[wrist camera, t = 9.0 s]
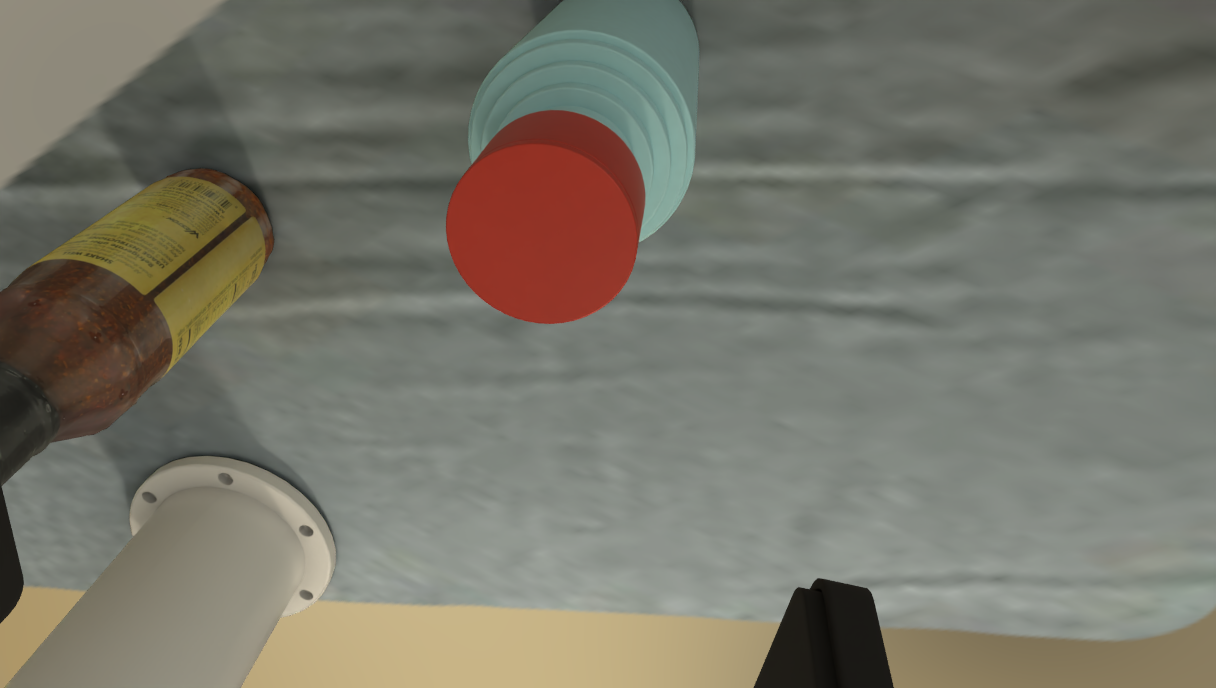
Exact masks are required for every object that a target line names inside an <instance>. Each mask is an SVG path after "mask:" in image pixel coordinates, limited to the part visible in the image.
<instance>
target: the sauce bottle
mask: <svg viewBox="0 0 1216 688" xmlns="http://www.w3.org/2000/svg"><path fill="white" fill-rule="evenodd" d="M273 245H274V237H273V232H272V226H271V224H270V221H269V219H268V216H267V213H266V211H265V210H264V208H263V205H262V203H261V202H260V200H259V198H258V197H257V196H256V195H255V194H253V192H252V191H251V190H250V189H248V188H247V186H245V185H243V184H241V182H239V181H237V180H235V179H233V178H231V177H230V176H229V175H226V174H224V173H222V172H218V171H216V170H212V169H203V168H198V169H189V170H184V171H180V172H177V173H175V174H172V175H169V176H167V177H166V178H165V179H162V180H160V181H157V182H155V183H153V184H151V185H150V186H148V187H147V188H145V189H144V190H142V191H141V192H140V193H138V194H137V195H135V196H134V197H132V198H131V199H129V200H128V201H126V202H125V203H123V204H122V205H120V206H119V207H117V208H116V209H114V210H113V211H111V212H110V213H109V214H107V215H106V216H104V217H103V218H101V219H100V220H98V221H97V222H95V223H94V224H92V225H91V226H89V227H88V228H86V229H85V230H83V231H82V232H80V233H79V234H77V235H76V236H74V237H73V238H71V239H70V240H69V241H67V242H66V243H64V244H63V245H61V246H60V247H58V248H57V249H55V250H54V251H52V252H51V253H49V254H48V255H46V256H45V257H43V258H42V259H40V260H39V261H37V262H36V263H34V264H33V265H31V266H30V267H29V268H27V269H26V270H25V271H23V272H22V273H21V274H20V275H19V276H18V277H17V278H16V279H15V280H14V281H13V282H12V283H11V284H10V285H9V286H8V288H6V289H4V290H3V291H1V292H0V482H1V486H2V485H3V484H4V483H5V482H6V481H7V480H8V479H9V478H10V477H11V476H13V475H14V474H15V473H16V472H17V471H18V470H19V469H20V468H21V467H22V466H23V465H24V464H25V463H26V462H27V461H29V460H30V458H31V457H32V456H35V455H37V454H38V453H40V452H42V451H43V450H44V449H45V448H46V447H47V446H48V445H49V444H50V443H51V442H56V441H62V440H67V439H72V438H77V437H82V436H86V435H94V434H96V433H98V432H100V431H102V430H104V429H106V428H108V427H109V426H110V425H111V424H112V423H113V422H115V421H116V420H117V419H118V418H119V417H120V416H121V415H122V414H123V413H124V412H126V411H127V410H128V409H129V408H130V407H131V406H132V405H134V404H136V403H137V400H138V398H139V397H140V396H141V395H142V394H143V393H144V392H145V391H146V390H147V389H148V388H149V387H150V386H152V385H153V384H155V383H156V382H158V381H159V380H160V379H161V378H162V377H163V376H164V375H165V374H166V373H167V372H168V371H169V370H170V369H171V368H172V367H173V366H174V365H175V364H176V363H177V362H178V360H179V359H180V358H181V357H182V356H183V355H184V354H185V353H186V352H187V351H188V350H189V349H190V348H191V347H192V346H193V345H194V344H195V342H196V341H197V340H198V339H199V338H200V337H201V336H202V335H203V334H204V333H205V332H206V331H207V330H208V329H209V328H210V327H211V326H212V325H213V323H214V322H215V321H216V320H217V319H218V318H219V317H220V316H221V315H222V314H223V313H224V312H225V311H226V310H227V309H228V308H229V307H230V306H231V305H232V304H233V303H234V302H235V301H236V300H237V299H238V298H239V297H240V296H241V295H242V294H243V293H244V292H245V291H246V290H247V289H248V288H249V287H250V286H251V285H252V284H253V283H254V282H255V281H256V280H257V278H258V276H259V275H260V273H261V271H262V268H263V265H264V264H265V263H266V261H267V259H268V257H269V255H270V253H271V252H272V250H273Z"/></svg>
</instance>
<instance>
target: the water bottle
mask: <svg viewBox="0 0 1216 688" xmlns="http://www.w3.org/2000/svg"><path fill="white" fill-rule="evenodd" d="M698 75H699V42H698V38H697V33H696V30H695V27H694V24H693V21H692V19H691V17H690V16H689V14H688V12H687V10H686V9H685V7H684V6H683V4H682V3H681V2H680V1H679V0H563V1H562V2H561V3H560V4H559V5H558V6H557V7H556V8H554V9H553V10H552V11H551V12H550V13H549V14H548V15H547V16H546V17H545V18H544V19H543V20H542V21H541V22H540V23H539V24H538V25H536V26H535V27H534V28H533V29H532V30H531V31H530V32H529V33H528V34H527V35H526V36H525V37H524V38H523V39H522V40H521V41H520V42H518V43H517V44H516V45H515V46H514V47H513V48H512V49H511V50H510V51H509V52H508V53H507V54H506V55H505V56H504V57H503V58H501V59H500V60H499V62H498V63H497V64H496V65H495V66H494V67H493V68H492V70H491V71H490V72H489V73H488V75H487V76H486V78H485V80H484V81H483V83H482V84H481V86H480V88H479V91H478V93H477V95H476V97H475V100H474V103H473V106H472V110H471V114H470V120H469V126H468V146H469V156H470V160H471V164H473V162H474V161H475V160H476V159H477V157H478V156H479V155H480V154H481V152H482V151H483V150H484V148H485V147H486V146H487V145H488V143H489V142H490V141H491V140H492V138H493V137H494V136H495V135H496V134H497V133H498V132H499V131H500V130H501V129H503V128H504V127H505V126H506V125H508V124H509V123H511V122H513V121H514V120H516V119H518V118H520V117H522V116H525V115H527V114H531V113H535V112H539V111H547V110H564V111H570V112H576V113H579V114H582V115H586V116H588V117H590V118H593V119H595V120H597V121H599V122H600V123H602V124H604V125H605V126H607V127H608V128H609V129H611V130H612V131H613V132H615V133H616V134H617V135H618V136H619V137H620V138H621V139H622V140H623V141H624V142H625V144H626V145H627V146H628V148H629V149H630V150H631V152H632V153H633V155H634V157H635V159H636V161H637V162H638V165H639V167H640V170H641V173H642V176H643V180H644V186H645V209H644V216H643V221H642V227H641V232H640V238H639V242H640V241H642V240H644V239H645V238H647V237H648V236H650V235H651V234H653V233H654V232H655V231H657V230H658V229H659V228H660V227H661V226H662V225H663V224H664V223H665V222H666V221H667V220H668V219H669V218H670V217H671V215H672V214H673V213H674V212H675V210H676V209H677V207H678V206H679V204H680V202H681V201H682V199H683V197H684V195H685V193H686V191H687V188H688V186H689V183H690V179H691V176H692V173H693V167H694V161H695V144H696V121H697V98H698Z"/></svg>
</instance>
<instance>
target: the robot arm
mask: <svg viewBox="0 0 1216 688" xmlns="http://www.w3.org/2000/svg"><path fill="white" fill-rule="evenodd" d="M129 519H130V526H131V533H132V535H133V538H132V539H131V540H130V541H129V543H128V544H127V545H126V546H125V547H124V548H123V550H122V551H121V552H120V553H119V554H118V555H117V557H116V558H115V559H114V560H113V561H112V562H111V564H110V565H109V566H108V567H107V568H106V569H105V571H104V572H103V573H102V574H101V575H100V576H99V578H98V579H97V580H96V581H95V582H94V583H93V585H92V586H91V587H90V588H89V589H88V590H87V592H86V593H85V594H84V595H83V596H82V597H81V599H80V600H79V601H78V602H77V603H76V604H75V606H74V607H73V608H72V609H71V610H70V611H69V613H68V614H67V615H66V616H65V617H64V618H63V620H62V621H61V622H60V623H59V624H58V625H57V627H56V628H55V629H54V630H53V631H52V632H51V634H50V635H49V636H48V637H47V639H45V641H44V642H43V643H42V644H41V645H40V646H39V648H38V649H37V650H36V651H35V652H34V653H33V655H32V656H31V657H30V658H29V659H28V661H27V662H26V663H25V664H24V665H23V666H22V667H21V669H20V670H19V671H18V672H17V673H16V674H15V676H14V677H13V678H12V679H11V680H10V681H9V683H8V684H7V685H6V686H5V687H4V688H241V686H242V684H243V682H244V681H245V679H246V677H247V675H248V674H249V672H250V670H251V668H252V667H253V665H254V663H255V661H256V660H257V658H258V656H259V654H260V653H261V651H262V649H263V647H264V645H265V644H266V642H267V640H268V638H269V636H270V635H271V633H272V631H273V630H274V628H275V626H276V624H277V622H278V621H279V619H280V618H281V617H286V616H291V615H293V614H296V613H298V612H301V611H303V610H305V609H306V608H308V607H309V606H311V605H312V604H314V603H315V602H316V601H317V600H318V599H319V597H320V596H321V595H322V594H323V593H324V591H325V589H326V587H327V586H328V584H329V582H330V580H331V578H332V575H333V572H334V569H335V565H336V550H335V545H334V541H333V537H332V534H331V532H330V530H329V528H328V526H327V524H326V522H325V520H324V519H323V517H322V516H321V515H320V513H319V512H318V510H317V509H316V507H315V506H314V505H313V504H312V503H311V502H310V501H309V500H308V499H307V498H306V497H305V496H304V495H303V494H302V493H301V492H299V491H298V490H297V489H295V488H294V487H293V486H291V485H290V484H289V483H288V482H286V481H285V480H283V479H281V478H279V477H278V476H276V475H274V474H272V473H271V472H269V471H267V470H264V469H262V468H259V467H257V466H254V465H252V464H249V463H246V462H242V461H238V460H234V459H230V458H224V457H214V456H197V457H187V458H183V459H179V460H176V461H172V462H170V463H168V464H166V465H164V466H162V467H160V468H159V469H157V470H156V471H155V472H154V473H153V474H152V475H151V476H150V477H148V478H147V480H146V481H145V482H144V483H143V484H142V485H141V486H140V488H139V489H138V490H137V492H136V494H135V496H134V498H133V501H132V503H131V508H130V516H129ZM23 585H24V581H23V574H22V570H21V566H20V562H19V558H18V553H17V549H16V545H15V541H14V537H13V533H12V528H11V524H10V520H9V516H8V512H7V507H6V503H5V499H4V495H3V491H2V487H1V482H0V623H1V622H2V621H3V620H4V619H5V618H6V617H7V616H8V615H9V614H10V612H11V611H12V610H13V609H14V607H15V606H16V604H17V602H18V601H19V599H20V596H21V593H22V590H23ZM754 688H894V687H893V683H892V678H891V674H890V669H889V665H888V660H887V656H886V652H885V647H884V643H883V638H882V634H881V630H880V625H879V621H878V617H877V612H876V608H875V603H874V599H873V597H872V594H871V592H870V591H869V590H868V588H863V587H859V586H854V585H849V584H844V583H840V582H835V581H830V580H826V579H820V578H818V579H816V580H815V581H814V583H813V584H812V586H811V588H810V589H805V588H800V587H798V588H797V589H796V590H795V592H794V593H793V595H792V598H791V600H790V603H789V605H788V607H787V610H786V612H785V614H784V617H783V619H782V622H781V624H780V626H779V629H778V631H777V634H776V636H775V638H774V641H773V643H772V645H771V648H770V650H769V652H768V655H767V657H766V659H765V662H764V664H763V667H762V669H761V672H760V674H759V676H758V678H757V681H756V683H755V686H754Z"/></svg>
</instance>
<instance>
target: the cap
mask: <svg viewBox="0 0 1216 688" xmlns="http://www.w3.org/2000/svg"><path fill="white" fill-rule="evenodd" d="M644 209H645V186H644V180H643V176H642V173H641V170H640V167H639V165H638V162H637V161H636V159H635V157H634V155H633V153H632V152H631V150H630V149H629V148H628V146H627V145H626V144H625V142H624V141H623V140H622V139H621V138H620V137H619V136H618V135H617V134H616V133H615V132H613V131H612V130H611V129H609V128H608V127H607V126H605V125H604V124H602V123H600V122H599V121H597V120H595V119H593V118H590V117H588V116H586V115H582V114H579V113H576V112H570V111H564V110H547V111H539V112H535V113H531V114H527V115H525V116H522V117H520V118H518V119H516V120H514V121H513V122H511V123H509V124H508V125H506V126H505V127H504V128H503V129H501V130H500V131H499V132H498V133H497V134H496V135H495V136H494V137H493V138H492V140H491V141H490V142H489V143H488V145H487V146H486V147H485V148H484V150H483V151H482V152H481V154H480V155H479V156H478V157H477V159H476V160H475V161H474V162H473V164H472V165H471V166H470V168H469V169H468V170H467V171H466V173H465V174H464V175H463V177H462V178H461V180H460V181H459V182H458V184H457V186H456V188H455V190H454V192H453V194H452V196H451V199H450V202H449V205H448V211H447V217H446V233H447V242H448V246H449V250H450V253H451V256H452V259H453V261H454V264H455V266H456V267H457V269H458V271H459V273H460V275H461V276H462V278H463V279H464V280H465V282H466V283H467V284H468V286H469V287H470V288H471V289H472V290H473V291H474V292H475V293H476V294H477V295H478V296H479V297H480V298H481V299H483V300H484V301H485V302H486V303H488V304H489V305H491V306H492V307H494V308H495V309H497V310H499V311H501V312H503V313H504V314H507V315H509V316H512V317H514V318H517V319H521V320H524V321H528V322H534V323H545V324H554V323H565V322H570V321H574V320H577V319H581V318H584V317H586V316H588V315H590V314H592V313H595V312H596V311H598V310H599V309H601V308H603V307H604V306H605V305H607V304H608V303H609V302H610V301H611V300H612V299H614V297H615V296H616V295H617V294H618V293H619V292H620V291H621V289H622V288H623V286H624V285H625V283H626V282H627V280H628V278H629V276H630V274H631V272H632V269H633V266H634V263H635V259H636V254H637V248H638V243H639V238H640V232H641V227H642V221H643V216H644Z"/></svg>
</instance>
